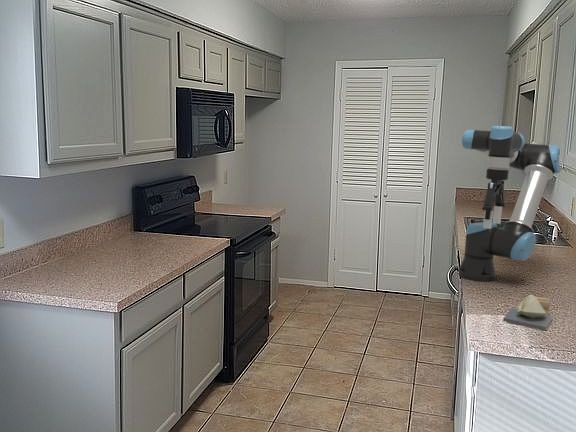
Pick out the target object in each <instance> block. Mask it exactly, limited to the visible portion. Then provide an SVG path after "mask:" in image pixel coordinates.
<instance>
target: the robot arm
mask: <svg viewBox="0 0 576 432" xmlns="http://www.w3.org/2000/svg"><path fill="white" fill-rule="evenodd" d="M525 142H526V140H525V137H524V136H523V134H522V133H521V132H518V131H514V130H513V127H512V126H508V125H507V126H506V125H493V126H492V127H491V129H490V130H480V129H479V130H477V129H467V130H465V131H464V132H463V135H462V139H461V146H462V148H464V149H467V150H471V151H472V150H475V151H478V152H481V153H483V154H486V155H487V156H488V157H487V158H486V162H487V165H486V166H487V169H486V176H485V178H486V179H487V180H491V181H490V182H488V183H487V190H486V192H485V193H486V194H485V198H484V203H483V206H482V211H484V212H483V213H484V214H483V222H482V221H481V222H471V223H470V224H468V225H467V229H466V232H465V246H464V253H463V254H464V255H463V258H462V261H461V263H460V266H459V268H458V272H457V273H458V274H457V275H458V276H459V277H461V278H463V279H466V280H471V281H477V282H491V281H495V280H496V277H497V272H496V269H495V263H494V256H495V257H501V258H506V259H511V260H514V261H516V260H517V261H526V260H528V259H530V257H531V256H532V253H534V251H535V250H534V249H535V248H536V243H537V237H536V234H535V233H534V232H535V231H534V229H533V227H532V226H533V223H534V220H535V217H536V214H537V212H538V208H539V206H540V203H541V200H542V197H543V194H544V191H545V189H546V186H547V182H548V181H550V180H553V177H554V175H555V174H559V173H560V172H561V170H562V167H561V168H560V165H559V155H560V149H561V147H560V146H559V145H555V144H551V143H549V144H540V143H525ZM510 167H511V168H512V169H516V170H521V171H524V174H525V178H524V181H523V182H522V187H521V190H520V191H519V194H518V197H517V200H516V203H515V206H514V208H513V212H512V214H511V217H510V219H509V220H507V221H505V223H504V224H503V227H498V224H499V225H501V220H502V212H503V207H505V205H506V204H505V190H504V188H505V187H504V186H505V181H507V180H509V170H508V169H510Z"/></svg>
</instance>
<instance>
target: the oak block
mask: <svg viewBox="0 0 576 432" xmlns="http://www.w3.org/2000/svg"><path fill="white" fill-rule="evenodd" d="M535 297H536V299H538V301H539V302H540V304H541V306H542V307H543V309H544V311H545V312H546V313H547V314H546V315H549V310H550V300H549V298H547V297H539V296H535Z"/></svg>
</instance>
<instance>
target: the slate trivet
mask: <svg viewBox="0 0 576 432" xmlns="http://www.w3.org/2000/svg"><path fill="white" fill-rule="evenodd" d="M517 310H518V308H515V307H514V308H513V307H512V308H511V309H510V311H508V312H507V314H505V316H504V317H503V320H502V321H506V322H505V323H508V322H509V324H513V325H517V324H518V325H517V326H522V327H527V328H531V329H537V330H540V331H546V330H548V328H549V326H550V324H551V323H552V322H551V321H553V319H554V315H553V316H552V315H549V314H548V315H545V316H543V317H539V318H529V317H527V316H525V315H522V314H518V313H517Z"/></svg>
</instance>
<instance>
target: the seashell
mask: <svg viewBox="0 0 576 432" xmlns="http://www.w3.org/2000/svg"><path fill="white" fill-rule="evenodd" d="M536 297H537V296H534V295H533V294H529V295H528V296H526V297H525V298H524V299H523V300H522V301H521V302H520V303H519V304H518V307H517V309H518V310H517V313H518V314H522V315H525V316H527V317H529V318H539V317H543V316H545V315H546V314H547V313H546V312H545V311H544V309H543V307H542V306H541V304H540V302H539V301H538V299H536Z"/></svg>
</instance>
